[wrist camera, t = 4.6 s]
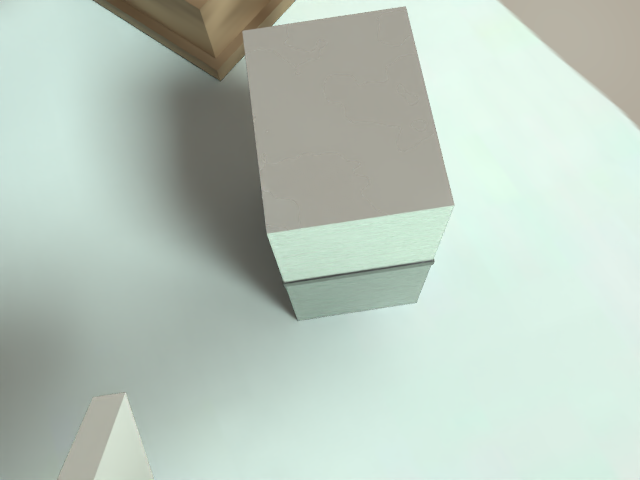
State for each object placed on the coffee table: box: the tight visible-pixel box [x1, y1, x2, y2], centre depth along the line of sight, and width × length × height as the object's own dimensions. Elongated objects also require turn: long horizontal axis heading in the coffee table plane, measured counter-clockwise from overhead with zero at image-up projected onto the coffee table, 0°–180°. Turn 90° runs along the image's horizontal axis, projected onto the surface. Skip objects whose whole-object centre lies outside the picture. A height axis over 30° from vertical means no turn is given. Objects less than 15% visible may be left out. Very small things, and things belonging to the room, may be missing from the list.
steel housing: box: [242, 6, 454, 321], centre depth 26 cm, size 6×8×12 cm
